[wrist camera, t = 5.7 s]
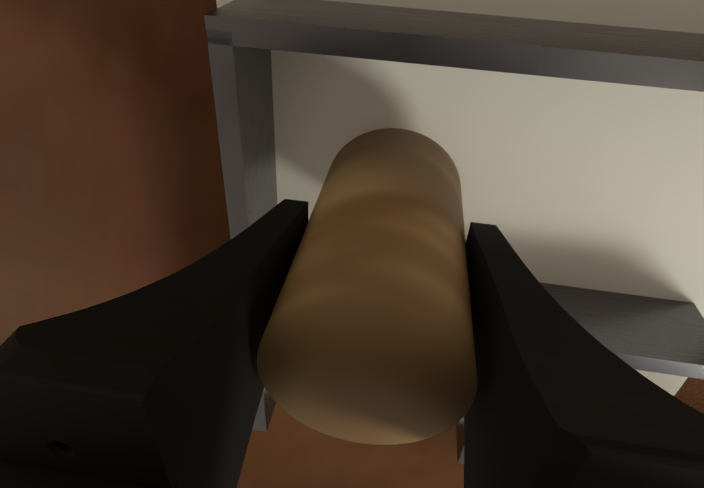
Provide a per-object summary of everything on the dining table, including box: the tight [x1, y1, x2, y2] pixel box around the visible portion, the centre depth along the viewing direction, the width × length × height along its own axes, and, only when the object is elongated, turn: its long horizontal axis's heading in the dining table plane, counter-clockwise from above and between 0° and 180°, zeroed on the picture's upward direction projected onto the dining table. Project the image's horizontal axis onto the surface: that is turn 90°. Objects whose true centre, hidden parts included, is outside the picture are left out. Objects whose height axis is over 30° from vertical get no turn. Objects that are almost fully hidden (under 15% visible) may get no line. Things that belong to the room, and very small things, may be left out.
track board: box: [216, 0, 704, 396], centre depth 18 cm, size 18×18×1 cm
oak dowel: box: [257, 128, 477, 445], centre depth 11 cm, size 4×4×7 cm
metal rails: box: [204, 0, 704, 464], centre depth 16 cm, size 16×16×3 cm
